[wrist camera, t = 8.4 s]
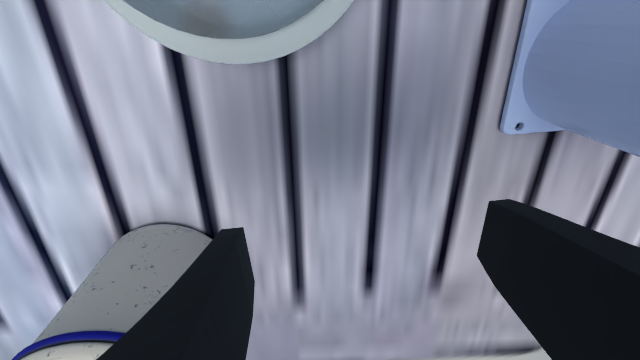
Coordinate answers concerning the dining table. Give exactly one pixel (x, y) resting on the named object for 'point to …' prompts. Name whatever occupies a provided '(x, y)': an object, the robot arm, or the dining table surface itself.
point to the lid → (225, 15)
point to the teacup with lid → (118, 292)
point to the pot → (242, 48)
